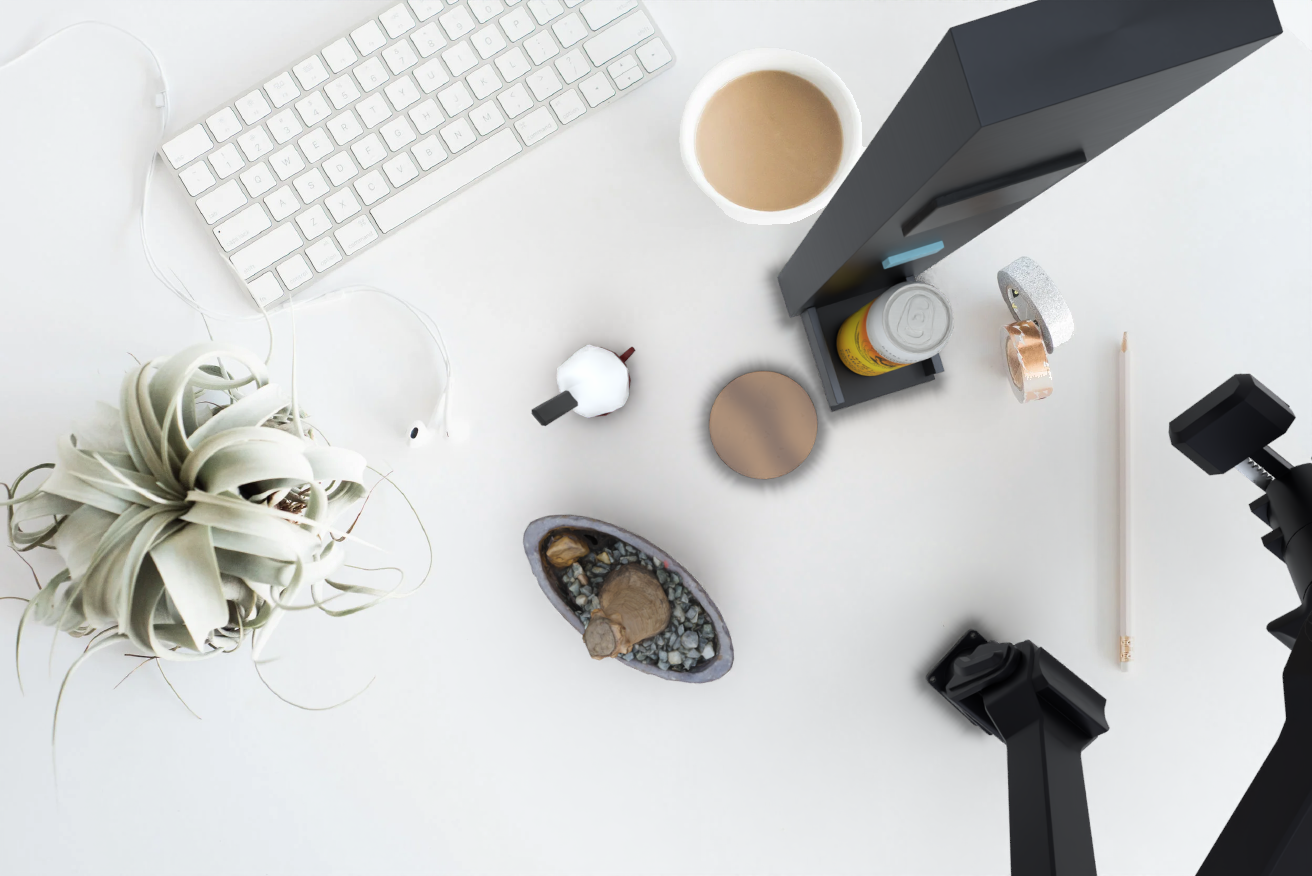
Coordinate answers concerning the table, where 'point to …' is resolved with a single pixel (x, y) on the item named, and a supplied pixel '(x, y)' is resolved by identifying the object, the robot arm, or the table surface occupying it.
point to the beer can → (896, 329)
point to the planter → (628, 599)
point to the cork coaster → (763, 425)
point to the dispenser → (998, 145)
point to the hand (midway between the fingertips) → (1284, 436)
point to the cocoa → (588, 385)
